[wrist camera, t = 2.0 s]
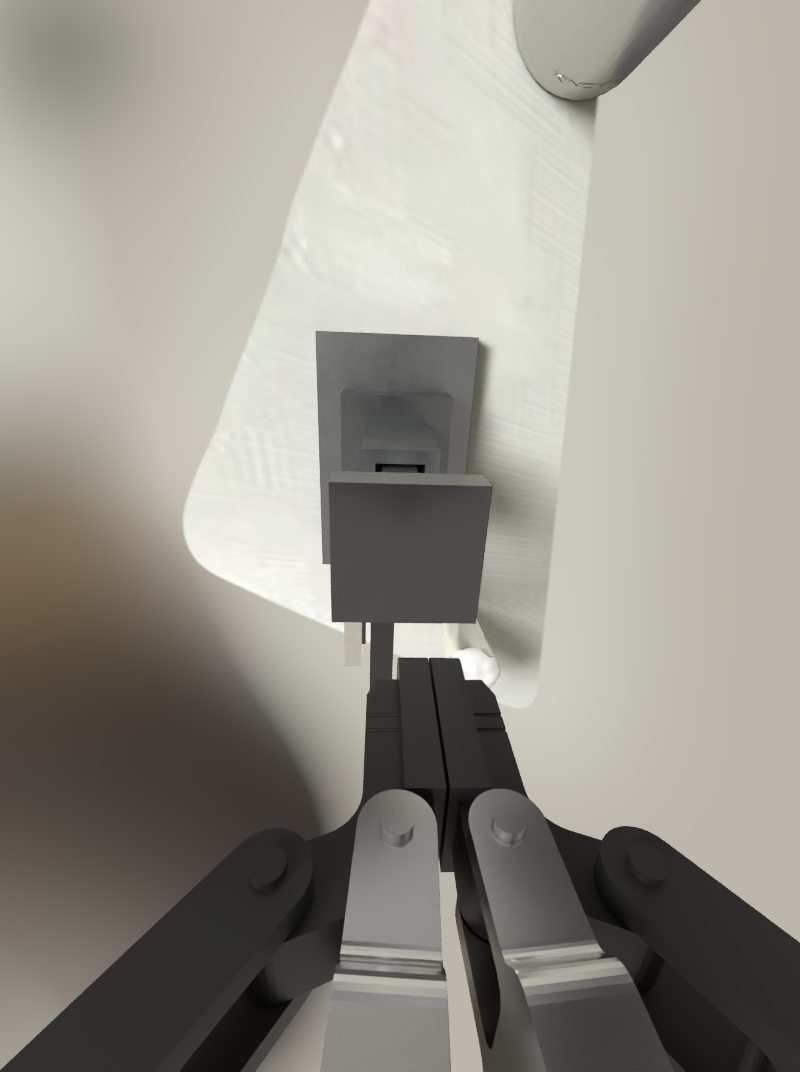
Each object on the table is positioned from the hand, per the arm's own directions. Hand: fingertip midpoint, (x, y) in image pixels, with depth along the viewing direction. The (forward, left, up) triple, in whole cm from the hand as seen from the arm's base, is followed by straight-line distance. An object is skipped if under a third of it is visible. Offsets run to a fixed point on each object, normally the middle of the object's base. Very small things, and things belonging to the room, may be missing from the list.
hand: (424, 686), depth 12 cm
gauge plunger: (+2, 0, -19) cm, 19 cm away
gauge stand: (+2, 0, -30) cm, 30 cm away
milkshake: (+17, +7, -30) cm, 35 cm away
